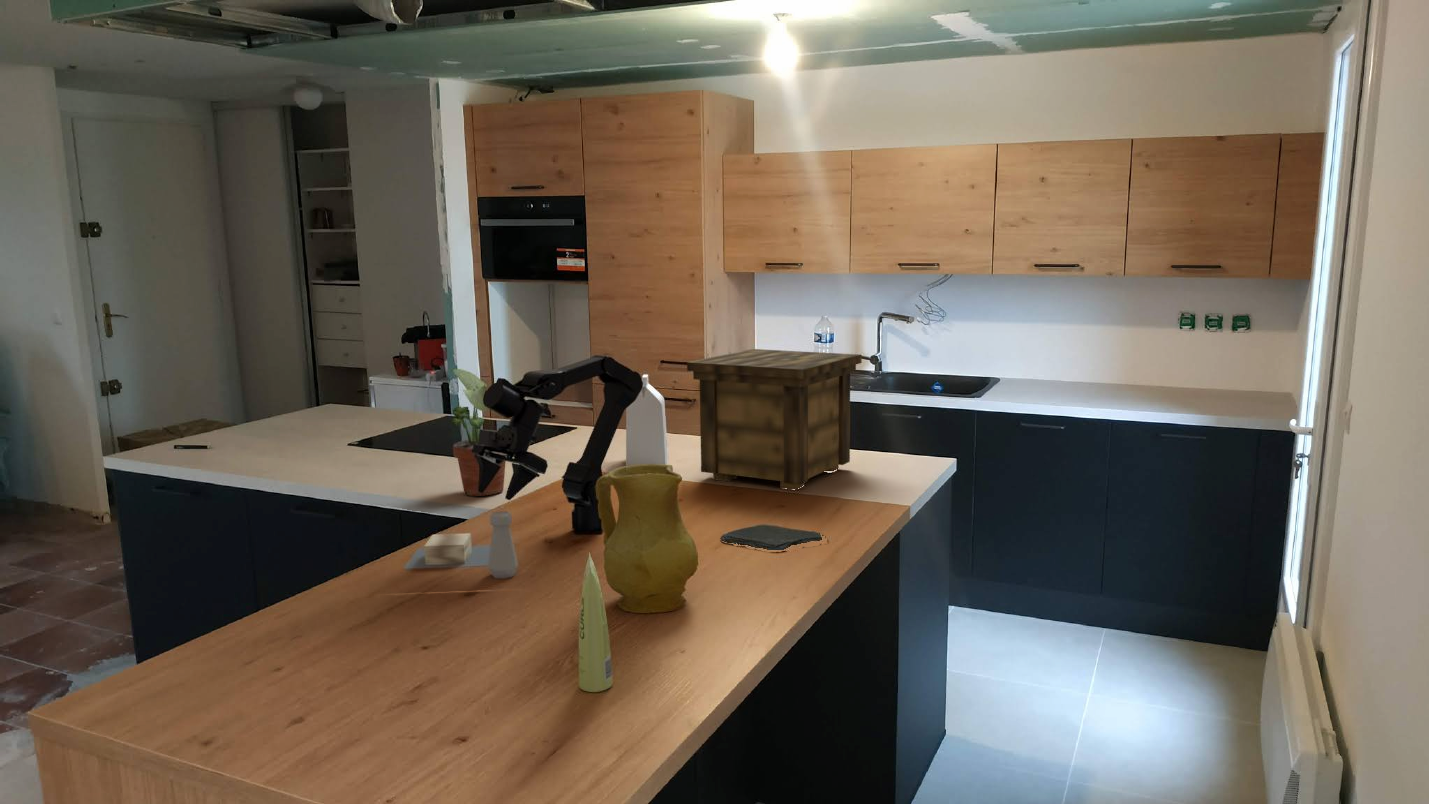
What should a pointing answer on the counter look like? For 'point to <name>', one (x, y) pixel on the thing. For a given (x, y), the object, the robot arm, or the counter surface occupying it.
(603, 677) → the tube
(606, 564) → the pitcher
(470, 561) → the mat
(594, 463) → the robot arm
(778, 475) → the crate
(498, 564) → the salt shaker
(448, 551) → the beech block
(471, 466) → the potted plant
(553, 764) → the counter surface
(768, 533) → the stone slab
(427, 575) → the counter surface
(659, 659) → the counter surface
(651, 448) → the milk
